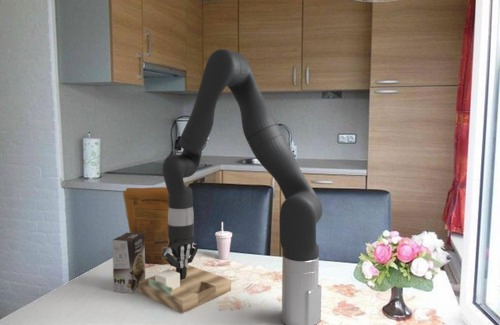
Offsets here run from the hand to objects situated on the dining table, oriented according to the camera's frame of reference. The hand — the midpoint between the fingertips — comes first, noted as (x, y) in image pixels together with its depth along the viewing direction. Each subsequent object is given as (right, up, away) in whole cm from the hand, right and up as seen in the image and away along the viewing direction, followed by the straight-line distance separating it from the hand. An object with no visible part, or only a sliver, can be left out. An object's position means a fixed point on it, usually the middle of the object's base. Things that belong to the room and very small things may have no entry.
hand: (181, 278), depth 121 cm
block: (-3, -1, -4) cm, 5 cm away
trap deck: (+1, -4, +2) cm, 5 cm away
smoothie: (+11, -2, +32) cm, 33 cm away
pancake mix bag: (-15, -2, +27) cm, 31 cm away
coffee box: (-17, -4, +5) cm, 18 cm away
